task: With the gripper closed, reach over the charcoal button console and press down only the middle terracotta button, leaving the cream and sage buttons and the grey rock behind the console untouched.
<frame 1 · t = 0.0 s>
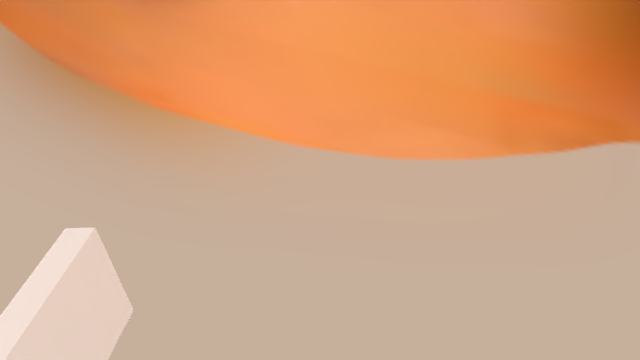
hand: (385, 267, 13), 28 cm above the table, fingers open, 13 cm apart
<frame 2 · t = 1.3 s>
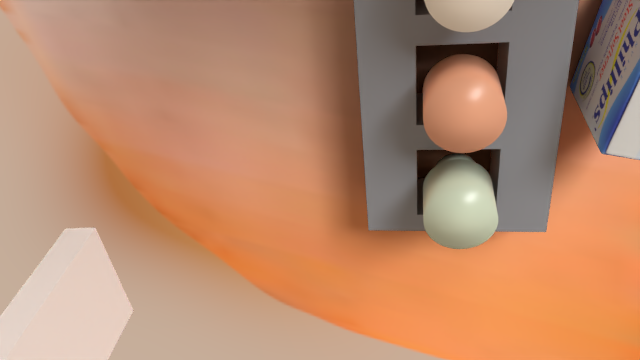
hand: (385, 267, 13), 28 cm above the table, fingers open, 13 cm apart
medicine box: (624, 33, 38), on the table
sage button: (458, 194, 39), point 6 cm above the table, slide at 0.0 cm
terracotta button: (461, 95, 35), point 6 cm above the table, slide at 0.0 cm
console: (456, 55, 40), on the table
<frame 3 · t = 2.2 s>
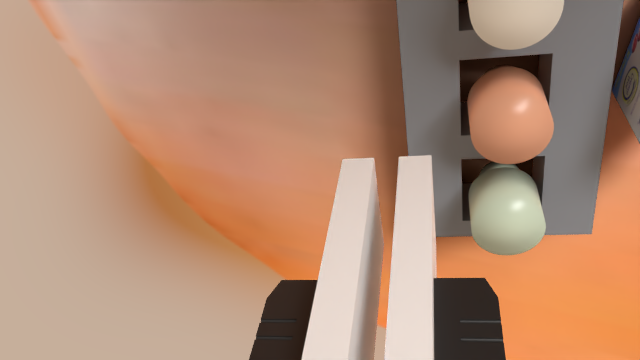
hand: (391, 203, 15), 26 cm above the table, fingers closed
sage button: (503, 201, 40), point 6 cm above the table, slide at 0.0 cm
terracotta button: (506, 106, 36), point 6 cm above the table, slide at 0.0 cm
console: (497, 64, 40), on the table
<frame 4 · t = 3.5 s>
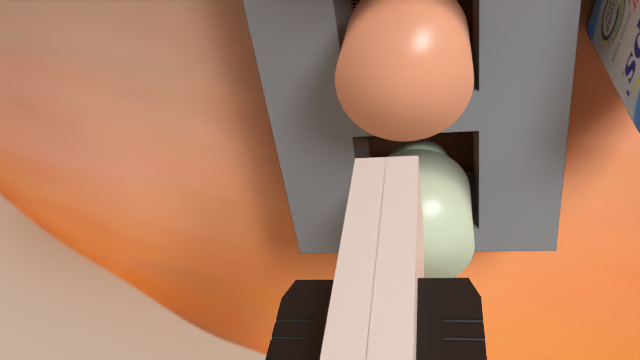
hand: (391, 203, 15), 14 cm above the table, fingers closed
sage button: (417, 202, 26), point 6 cm above the table, slide at 0.0 cm
terracotta button: (406, 47, 22), point 6 cm above the table, slide at 0.0 cm
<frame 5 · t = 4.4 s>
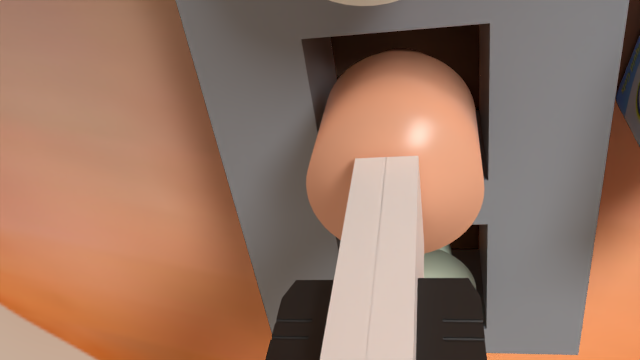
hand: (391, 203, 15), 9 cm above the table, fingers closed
sage button: (412, 306, 21), point 6 cm above the table, slide at 0.0 cm
terracotta button: (397, 133, 17), point 6 cm above the table, slide at 0.1 cm, touching gripper
console: (404, 51, 22), on the table
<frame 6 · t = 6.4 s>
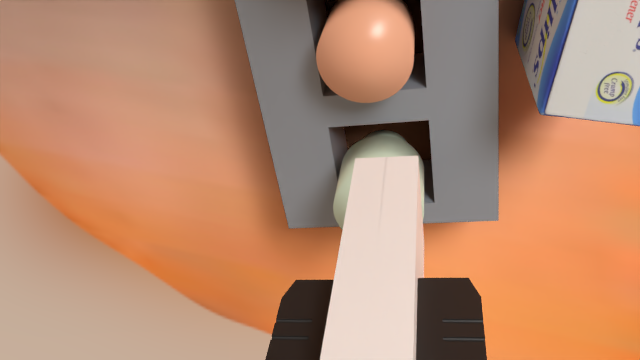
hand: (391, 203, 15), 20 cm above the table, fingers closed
sage button: (381, 179, 32), point 6 cm above the table, slide at 0.0 cm
terracotta button: (369, 36, 30), point 4 cm above the table, slide at 2.1 cm
console: (374, 11, 33), on the table
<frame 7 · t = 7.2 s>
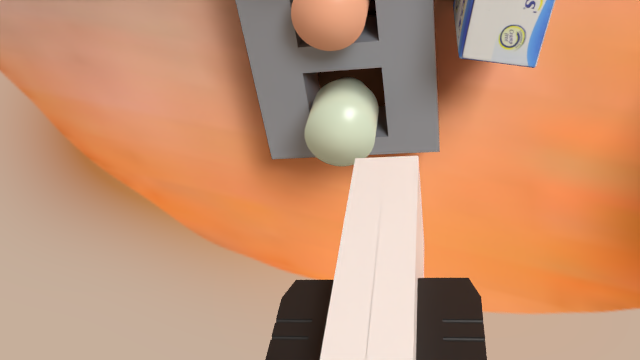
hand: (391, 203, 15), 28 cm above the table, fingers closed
sage button: (344, 114, 40), point 6 cm above the table, slide at 0.0 cm
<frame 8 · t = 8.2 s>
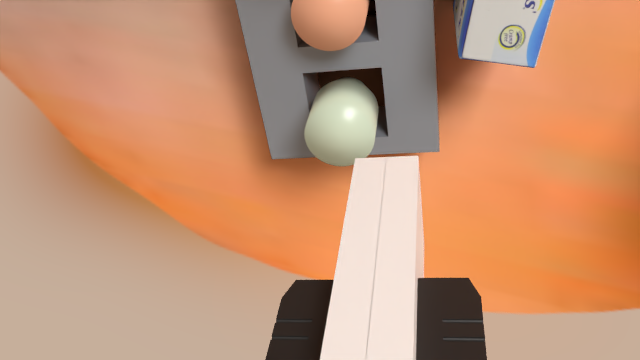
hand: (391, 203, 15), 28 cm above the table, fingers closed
sage button: (344, 114, 40), point 6 cm above the table, slide at 0.0 cm
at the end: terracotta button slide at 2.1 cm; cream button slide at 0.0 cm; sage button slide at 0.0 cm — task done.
